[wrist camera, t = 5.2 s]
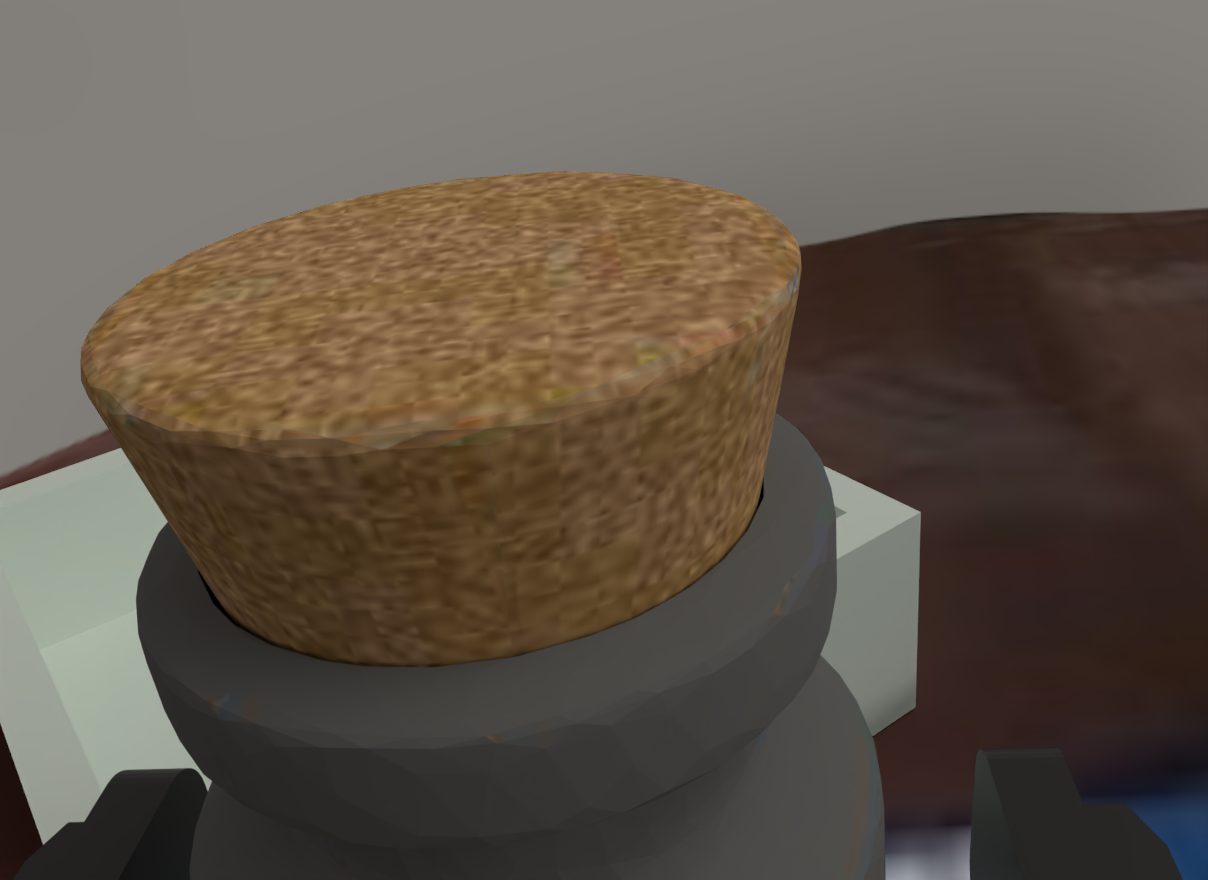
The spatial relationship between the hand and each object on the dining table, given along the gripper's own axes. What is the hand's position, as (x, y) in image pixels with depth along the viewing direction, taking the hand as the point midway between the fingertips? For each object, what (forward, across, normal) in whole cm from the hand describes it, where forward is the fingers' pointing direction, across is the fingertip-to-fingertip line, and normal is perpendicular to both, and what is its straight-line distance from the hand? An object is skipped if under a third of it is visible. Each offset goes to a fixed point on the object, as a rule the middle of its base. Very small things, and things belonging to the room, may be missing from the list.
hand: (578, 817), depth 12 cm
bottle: (-1, 0, +9) cm, 9 cm away
